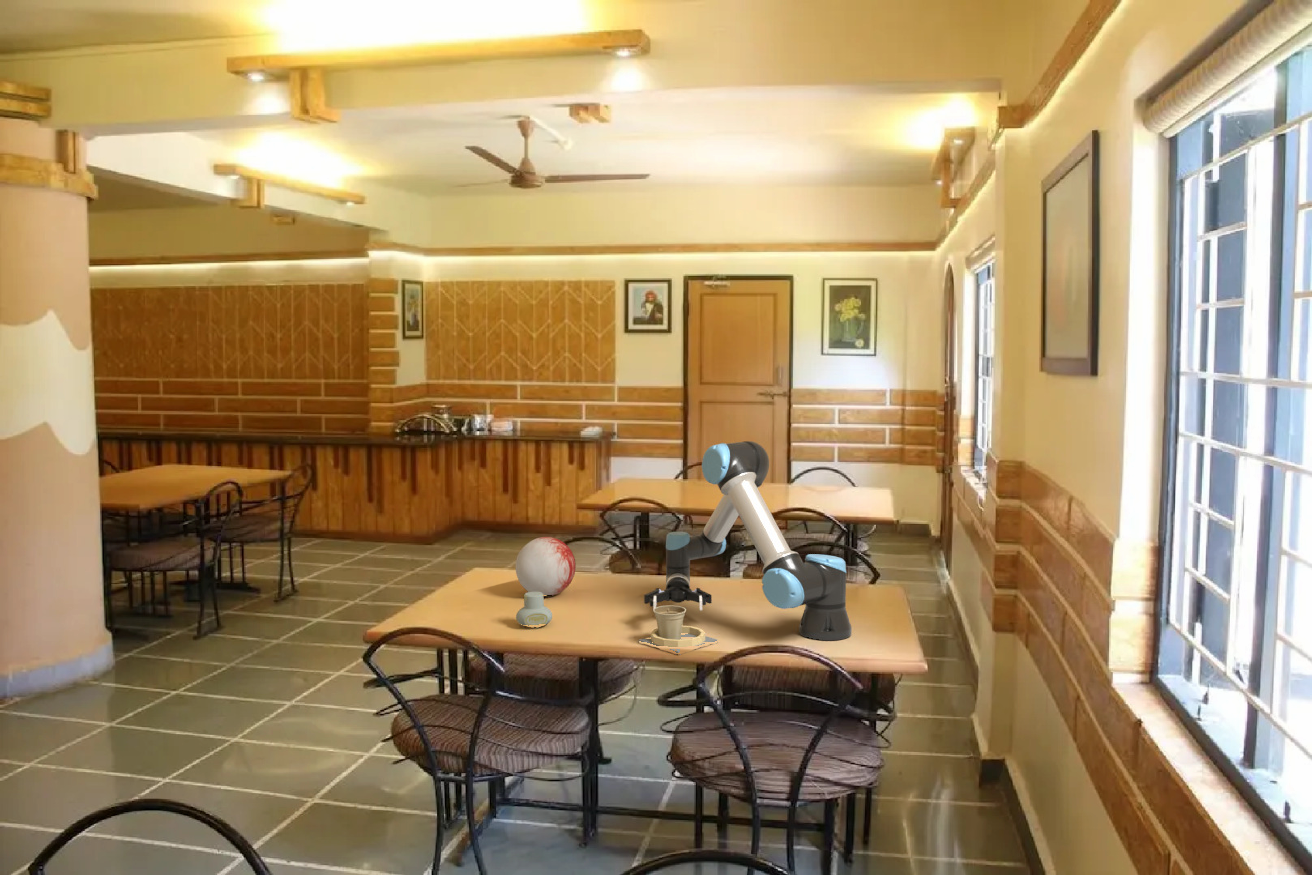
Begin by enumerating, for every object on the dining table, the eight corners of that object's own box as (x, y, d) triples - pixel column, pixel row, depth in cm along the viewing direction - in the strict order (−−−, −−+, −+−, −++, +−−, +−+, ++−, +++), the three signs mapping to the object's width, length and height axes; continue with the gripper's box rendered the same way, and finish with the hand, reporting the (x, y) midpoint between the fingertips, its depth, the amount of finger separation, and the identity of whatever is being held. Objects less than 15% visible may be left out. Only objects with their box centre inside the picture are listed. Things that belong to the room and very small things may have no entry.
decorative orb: (547, 585, 367) (545, 529, 365) (588, 593, 354) (587, 536, 352) (502, 597, 351) (501, 539, 349) (544, 606, 338) (543, 546, 336)
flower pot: (685, 644, 292) (685, 614, 291) (652, 643, 292) (652, 613, 291) (686, 634, 301) (686, 605, 300) (654, 634, 302) (654, 605, 301)
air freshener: (518, 631, 310) (517, 598, 309) (514, 623, 318) (513, 591, 317) (554, 627, 313) (553, 595, 312) (549, 620, 321) (549, 589, 320)
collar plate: (717, 642, 296) (717, 632, 296) (677, 655, 285) (677, 644, 285) (678, 631, 307) (678, 621, 307) (638, 643, 297) (638, 632, 296)
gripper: (717, 599, 325) (720, 618, 304) (638, 600, 326) (635, 618, 305) (717, 576, 325) (720, 592, 304) (638, 576, 325) (635, 593, 304)
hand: (677, 605), depth 304 cm, fingers open, 13 cm apart
